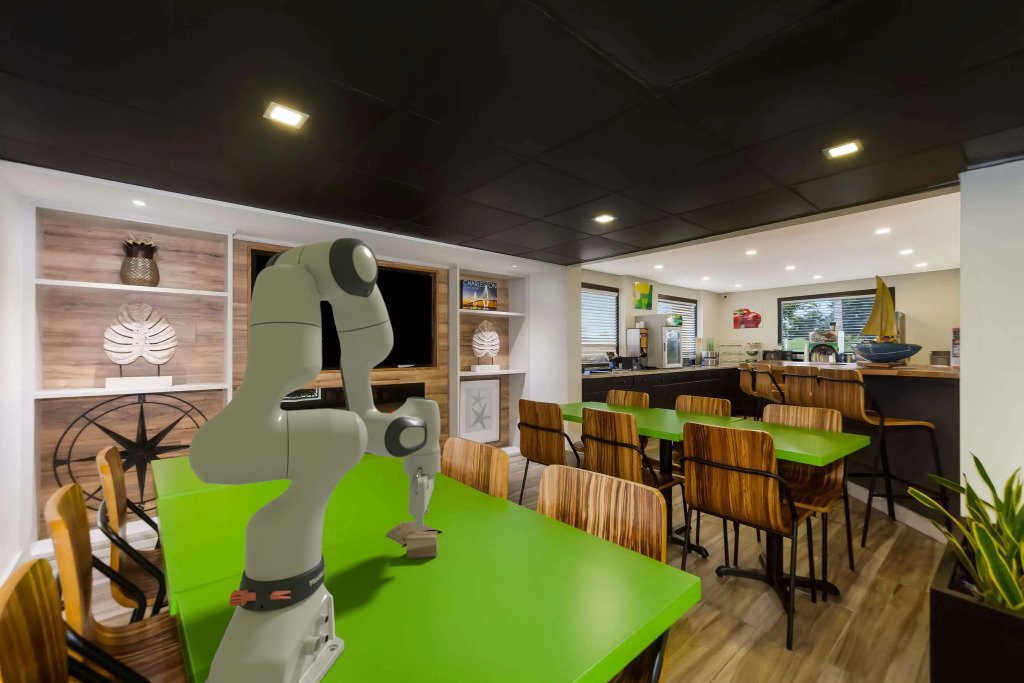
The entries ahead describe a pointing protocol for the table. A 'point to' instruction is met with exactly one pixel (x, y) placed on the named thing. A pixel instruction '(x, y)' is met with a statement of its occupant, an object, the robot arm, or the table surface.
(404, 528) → the clay tablet
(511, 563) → the table surface
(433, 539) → the block
